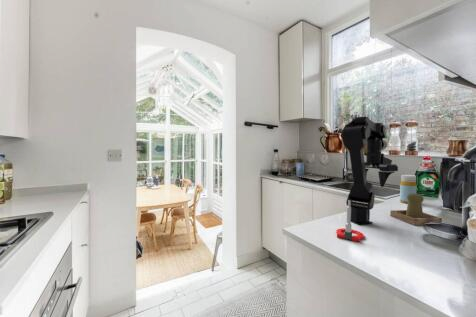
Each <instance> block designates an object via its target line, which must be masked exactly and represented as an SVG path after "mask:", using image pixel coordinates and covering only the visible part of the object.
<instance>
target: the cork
mask: <svg viewBox="0 0 476 317" xmlns="http://www.w3.org/2000/svg"><path fill="white" fill-rule="evenodd" d="M424 199H425V198H424V196H423V195H422V194H419V193H416V194H408V195H407V200H408V201H409V202H408V204H407V207H406V210H407V211H406V215H407V216H410V217H412V218H423V213H424V212H423V204H422V203H423V202H424Z"/></svg>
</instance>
